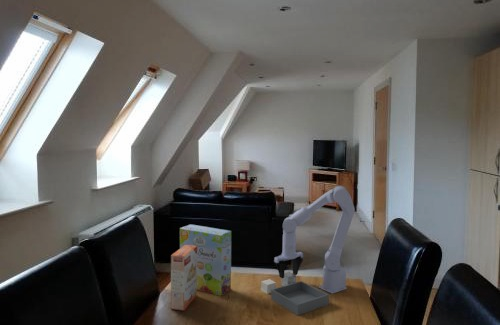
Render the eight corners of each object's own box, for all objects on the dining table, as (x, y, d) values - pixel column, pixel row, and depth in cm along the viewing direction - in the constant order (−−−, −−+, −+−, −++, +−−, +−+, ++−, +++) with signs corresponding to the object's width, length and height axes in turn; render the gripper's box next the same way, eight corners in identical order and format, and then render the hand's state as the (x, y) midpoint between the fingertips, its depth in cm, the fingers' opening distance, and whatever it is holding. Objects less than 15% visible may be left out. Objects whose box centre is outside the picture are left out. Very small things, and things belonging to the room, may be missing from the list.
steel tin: (289, 282, 166) (289, 271, 166) (295, 285, 162) (296, 274, 162) (281, 284, 164) (281, 273, 163) (287, 288, 160) (288, 276, 160)
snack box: (178, 286, 160) (178, 227, 158) (190, 279, 168) (190, 223, 166) (221, 297, 150) (221, 234, 148) (232, 289, 158) (232, 229, 156)
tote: (301, 290, 158) (301, 281, 157) (328, 304, 145) (329, 294, 144) (270, 299, 149) (271, 289, 149) (297, 315, 136) (297, 304, 135)
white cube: (269, 288, 160) (269, 279, 160) (275, 291, 156) (276, 282, 156) (260, 290, 157) (261, 281, 157) (267, 294, 154) (267, 284, 153)
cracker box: (185, 311, 138) (185, 256, 136) (170, 309, 139) (169, 255, 137) (198, 295, 151) (198, 245, 150) (184, 294, 153) (183, 244, 151)
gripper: (295, 240, 169) (295, 269, 170) (270, 245, 161) (269, 276, 162) (306, 244, 163) (305, 274, 164) (280, 249, 155) (279, 281, 156)
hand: (288, 275), depth 163 cm, fingers open, 7 cm apart
